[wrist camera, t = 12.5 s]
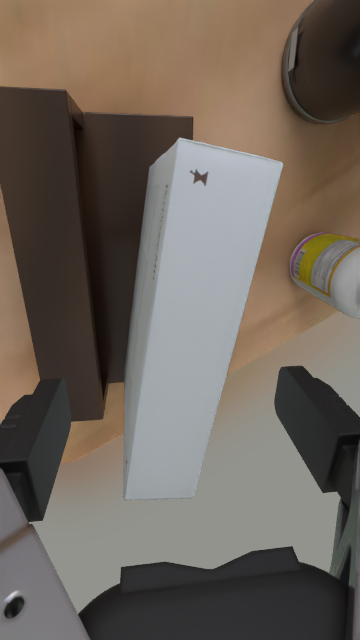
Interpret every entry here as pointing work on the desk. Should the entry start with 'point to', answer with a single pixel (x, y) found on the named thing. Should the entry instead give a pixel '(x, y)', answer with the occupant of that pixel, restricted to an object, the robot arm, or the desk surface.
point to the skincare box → (188, 307)
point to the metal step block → (78, 229)
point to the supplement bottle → (329, 270)
